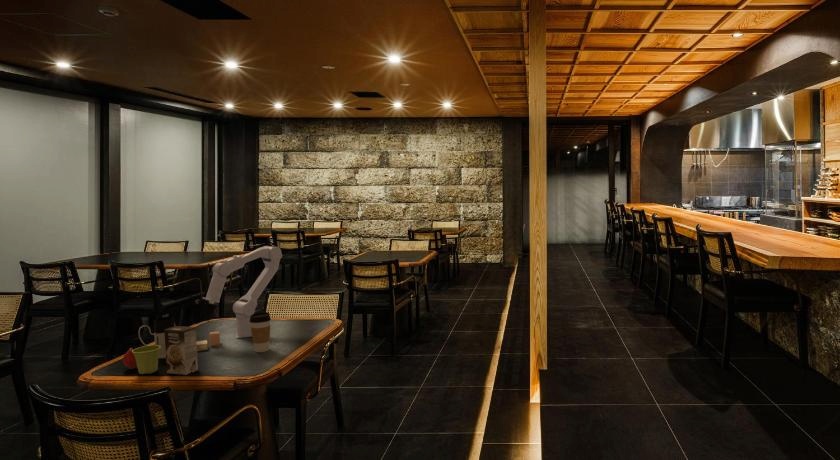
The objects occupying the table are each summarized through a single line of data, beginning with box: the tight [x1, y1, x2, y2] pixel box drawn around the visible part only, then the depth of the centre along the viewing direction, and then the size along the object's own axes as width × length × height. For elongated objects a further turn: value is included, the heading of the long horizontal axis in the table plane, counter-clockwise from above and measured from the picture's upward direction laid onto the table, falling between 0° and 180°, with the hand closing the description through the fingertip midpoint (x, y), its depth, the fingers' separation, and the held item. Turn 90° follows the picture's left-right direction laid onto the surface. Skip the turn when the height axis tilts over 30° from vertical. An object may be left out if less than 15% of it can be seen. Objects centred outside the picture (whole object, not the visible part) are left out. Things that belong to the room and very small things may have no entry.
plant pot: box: [132, 344, 161, 375], centre depth 196 cm, size 9×9×9 cm
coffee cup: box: [249, 311, 272, 353], centre depth 219 cm, size 8×8×15 cm
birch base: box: [196, 339, 209, 352], centre depth 225 cm, size 6×6×3 cm
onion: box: [122, 347, 137, 370], centre depth 201 cm, size 6×6×8 cm
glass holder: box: [137, 316, 176, 359], centre depth 216 cm, size 9×14×15 cm, turn 135°
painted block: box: [209, 331, 221, 347], centre depth 232 cm, size 4×4×5 cm
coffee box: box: [164, 325, 199, 376], centre depth 195 cm, size 9×6×16 cm
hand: (206, 320), depth 231 cm, fingers open, 7 cm apart
